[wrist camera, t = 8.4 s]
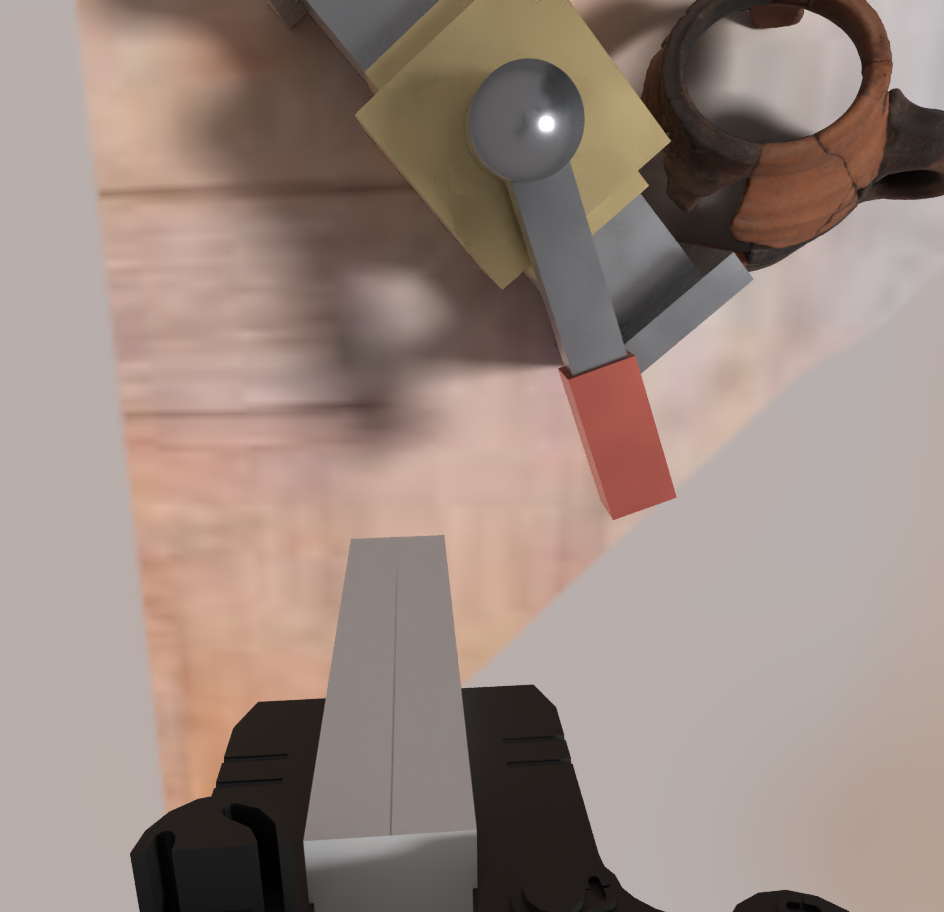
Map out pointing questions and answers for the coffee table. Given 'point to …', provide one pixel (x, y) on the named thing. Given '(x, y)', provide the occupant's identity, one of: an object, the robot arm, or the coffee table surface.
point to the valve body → (487, 198)
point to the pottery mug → (799, 161)
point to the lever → (570, 274)
